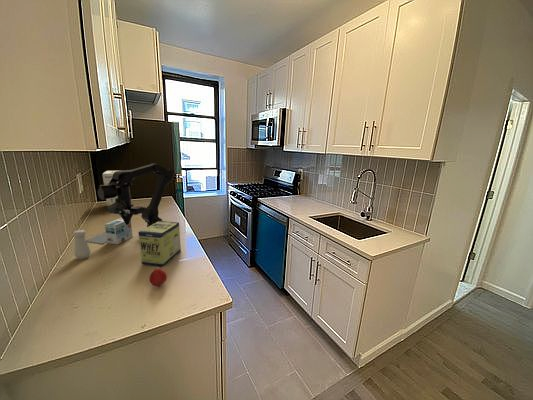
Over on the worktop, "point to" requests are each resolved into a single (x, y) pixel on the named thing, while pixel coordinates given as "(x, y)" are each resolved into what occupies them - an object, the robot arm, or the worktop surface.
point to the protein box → (159, 243)
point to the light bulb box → (118, 231)
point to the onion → (158, 277)
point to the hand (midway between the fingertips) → (127, 224)
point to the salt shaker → (81, 245)
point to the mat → (98, 239)
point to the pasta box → (107, 178)
